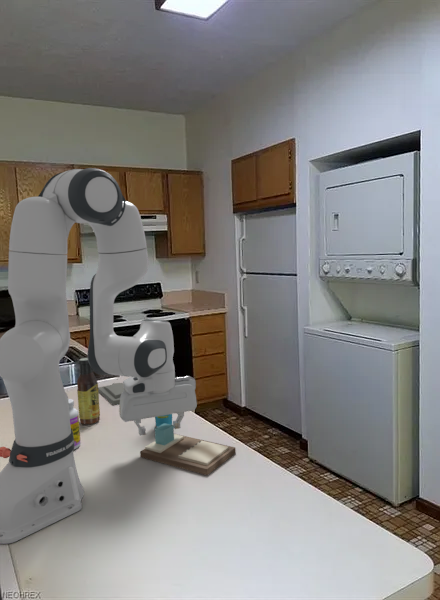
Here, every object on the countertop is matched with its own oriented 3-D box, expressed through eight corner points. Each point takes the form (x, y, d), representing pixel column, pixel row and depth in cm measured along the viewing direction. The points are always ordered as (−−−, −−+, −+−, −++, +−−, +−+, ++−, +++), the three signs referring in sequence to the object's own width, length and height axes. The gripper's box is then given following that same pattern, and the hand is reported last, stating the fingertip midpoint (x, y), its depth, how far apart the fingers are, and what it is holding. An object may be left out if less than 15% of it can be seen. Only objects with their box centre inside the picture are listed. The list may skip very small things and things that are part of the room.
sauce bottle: (97, 425, 141) (92, 361, 139) (76, 426, 141) (71, 362, 139) (103, 417, 148) (98, 356, 145) (83, 418, 148) (78, 357, 146)
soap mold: (123, 387, 181) (122, 378, 180) (140, 401, 163) (140, 391, 163) (97, 392, 176) (96, 383, 175) (112, 407, 158) (111, 397, 158)
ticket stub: (160, 453, 117) (159, 435, 116) (145, 449, 119) (144, 431, 119) (184, 438, 125) (183, 421, 124) (169, 434, 128) (168, 418, 127)
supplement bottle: (73, 453, 122) (69, 406, 121) (50, 452, 124) (46, 405, 122) (85, 442, 129) (81, 397, 127) (63, 441, 130) (59, 397, 129)
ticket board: (207, 475, 107) (206, 466, 107) (140, 457, 118) (139, 448, 118) (235, 453, 118) (235, 444, 118) (172, 438, 129) (171, 430, 129)
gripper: (191, 372, 128) (192, 420, 129) (116, 382, 120) (119, 433, 121) (199, 377, 122) (200, 428, 124) (121, 388, 114) (124, 442, 115)
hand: (159, 431), depth 122 cm, fingers open, 8 cm apart
